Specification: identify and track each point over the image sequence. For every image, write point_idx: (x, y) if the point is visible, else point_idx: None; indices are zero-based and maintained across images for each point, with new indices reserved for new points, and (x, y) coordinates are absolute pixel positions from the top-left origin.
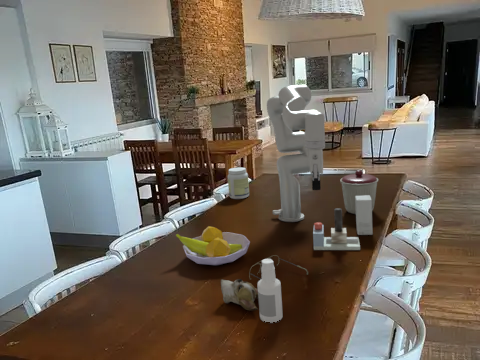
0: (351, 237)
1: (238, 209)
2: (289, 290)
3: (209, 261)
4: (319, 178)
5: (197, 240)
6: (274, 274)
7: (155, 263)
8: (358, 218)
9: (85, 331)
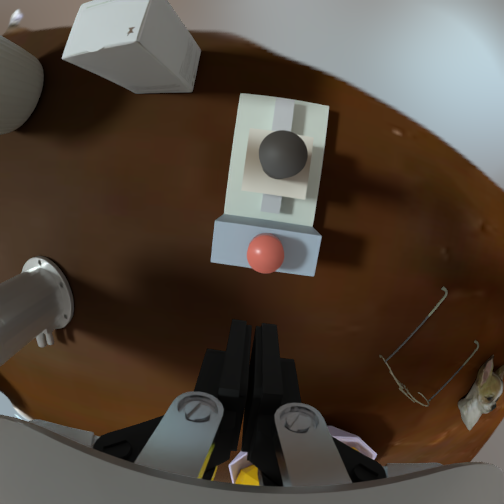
0: (275, 118)
1: (30, 389)
2: (479, 322)
3: None
4: (328, 433)
5: None
6: None
7: None
8: (173, 68)
9: None
